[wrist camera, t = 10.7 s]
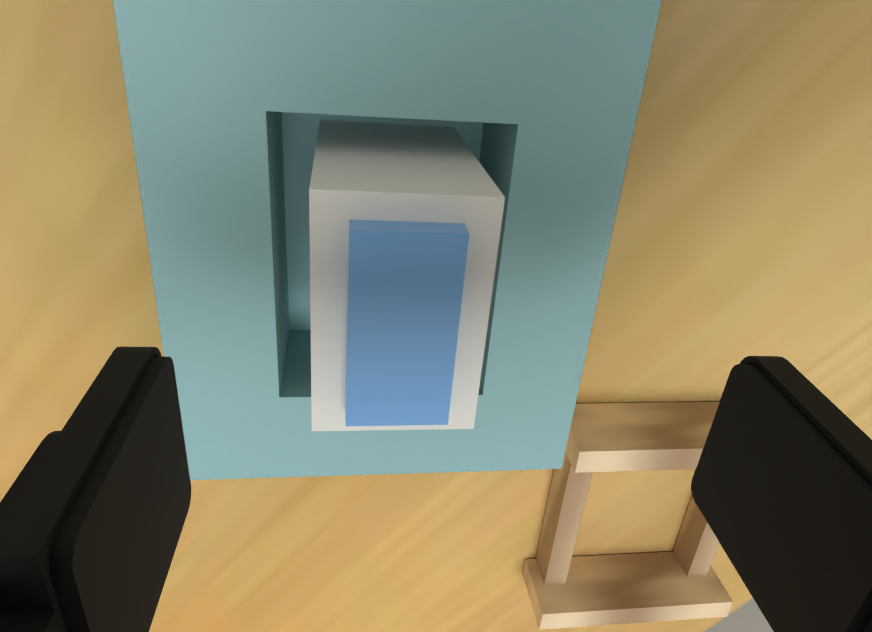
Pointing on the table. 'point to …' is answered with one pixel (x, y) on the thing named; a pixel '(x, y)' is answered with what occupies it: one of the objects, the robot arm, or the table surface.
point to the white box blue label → (398, 276)
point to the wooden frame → (625, 573)
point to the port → (289, 204)
